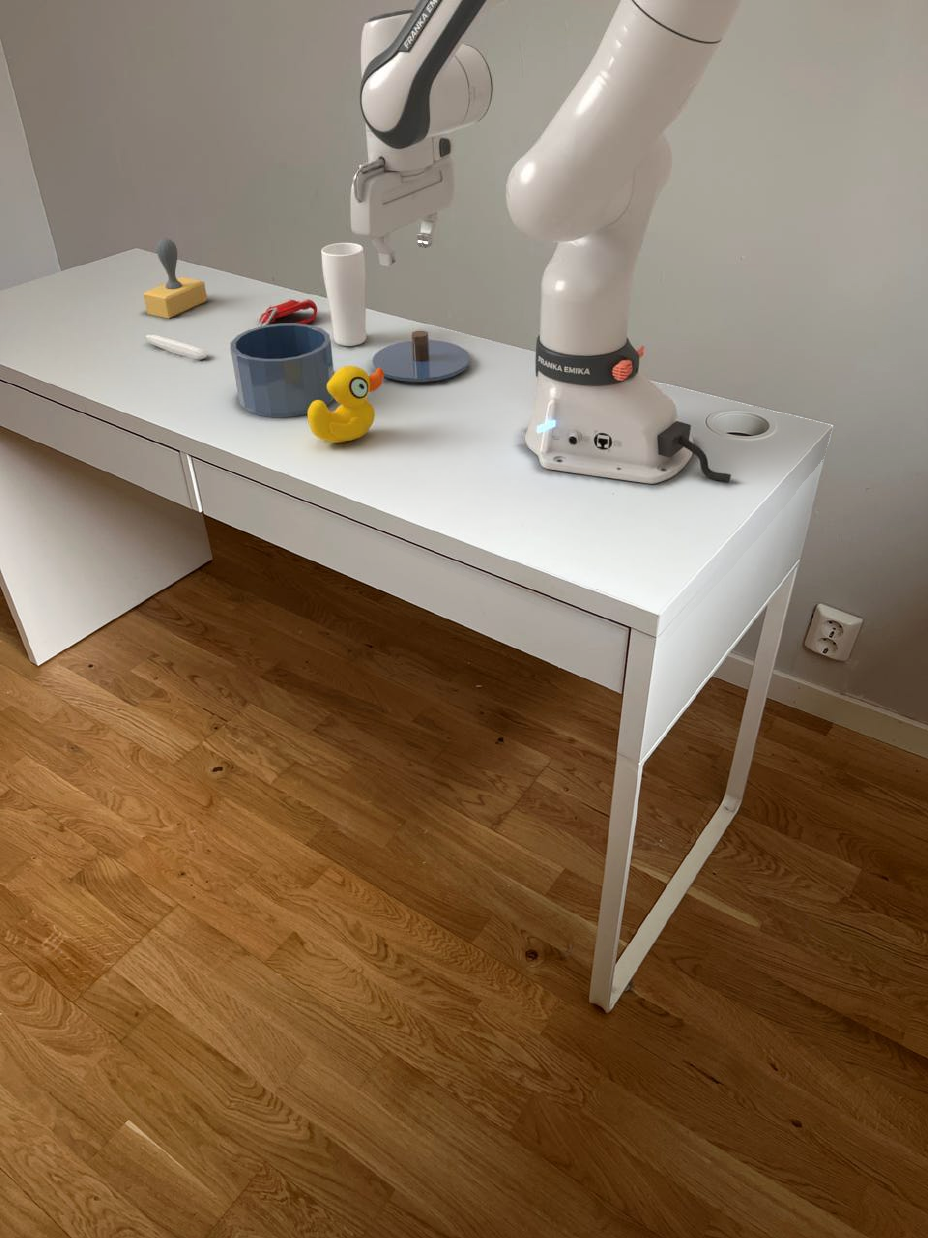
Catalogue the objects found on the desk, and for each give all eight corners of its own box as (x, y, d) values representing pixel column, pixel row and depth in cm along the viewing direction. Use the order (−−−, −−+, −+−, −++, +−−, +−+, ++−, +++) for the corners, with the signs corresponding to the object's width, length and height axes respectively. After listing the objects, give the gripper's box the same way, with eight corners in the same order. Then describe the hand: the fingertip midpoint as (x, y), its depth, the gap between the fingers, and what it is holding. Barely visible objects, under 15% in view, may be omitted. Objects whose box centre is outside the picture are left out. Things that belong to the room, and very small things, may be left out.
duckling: (377, 420, 144) (372, 352, 138) (395, 434, 140) (391, 365, 134) (304, 440, 139) (295, 371, 133) (321, 456, 135) (313, 385, 129)
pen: (150, 341, 169) (148, 331, 168) (210, 358, 163) (208, 348, 162) (143, 344, 168) (141, 334, 167) (203, 362, 162) (201, 352, 161)
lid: (487, 357, 161) (486, 325, 158) (438, 393, 151) (437, 359, 147) (406, 340, 167) (404, 309, 164) (353, 374, 157) (351, 341, 154)
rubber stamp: (185, 296, 186) (172, 228, 179) (208, 301, 184) (197, 233, 177) (146, 313, 180) (131, 244, 172) (170, 318, 177) (156, 248, 170)
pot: (354, 387, 153) (349, 332, 148) (296, 425, 143) (289, 368, 138) (279, 370, 159) (272, 316, 153) (219, 405, 149) (209, 349, 144)
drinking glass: (321, 344, 166) (311, 252, 157) (344, 330, 171) (336, 240, 162) (356, 351, 164) (348, 257, 155) (378, 337, 169) (372, 245, 160)
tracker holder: (258, 306, 178) (312, 289, 178) (267, 331, 180) (320, 314, 179) (251, 315, 167) (309, 296, 166) (261, 341, 169) (318, 323, 168)
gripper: (373, 169, 128) (381, 279, 136) (460, 137, 141) (463, 239, 150) (333, 164, 130) (344, 272, 139) (423, 133, 144) (428, 233, 152)
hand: (407, 255), depth 144 cm, fingers open, 8 cm apart
